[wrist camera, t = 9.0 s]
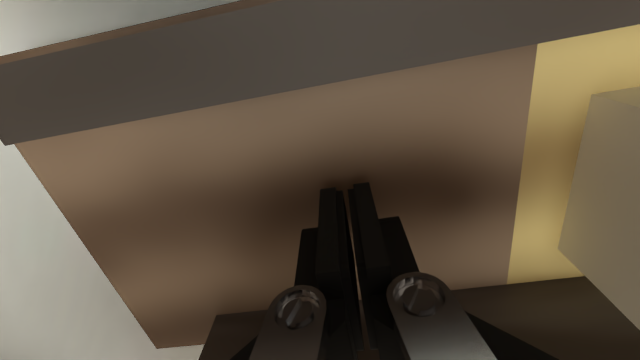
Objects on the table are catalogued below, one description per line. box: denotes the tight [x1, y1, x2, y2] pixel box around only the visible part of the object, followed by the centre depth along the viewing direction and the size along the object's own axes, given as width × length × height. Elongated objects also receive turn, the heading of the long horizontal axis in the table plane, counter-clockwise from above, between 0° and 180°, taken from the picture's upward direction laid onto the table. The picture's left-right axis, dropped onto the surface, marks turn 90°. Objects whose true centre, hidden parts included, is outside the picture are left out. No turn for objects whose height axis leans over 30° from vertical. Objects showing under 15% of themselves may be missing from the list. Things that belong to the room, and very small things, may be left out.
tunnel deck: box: [0, 0, 640, 360], centre depth 10 cm, size 14×35×6 cm, turn 101°
